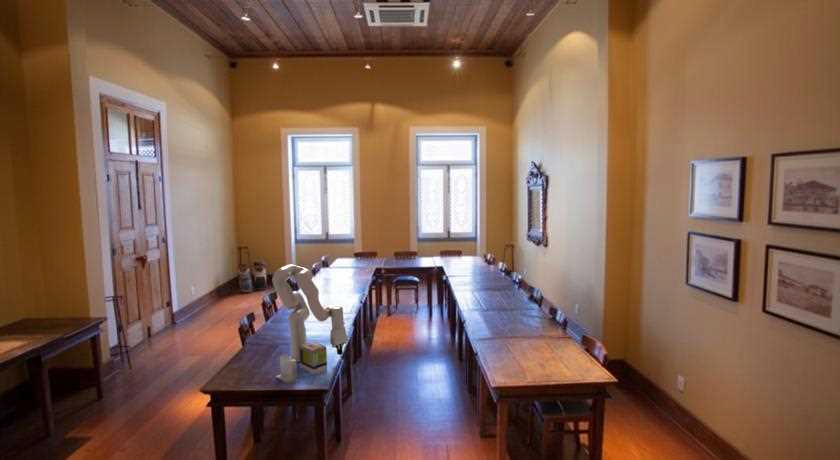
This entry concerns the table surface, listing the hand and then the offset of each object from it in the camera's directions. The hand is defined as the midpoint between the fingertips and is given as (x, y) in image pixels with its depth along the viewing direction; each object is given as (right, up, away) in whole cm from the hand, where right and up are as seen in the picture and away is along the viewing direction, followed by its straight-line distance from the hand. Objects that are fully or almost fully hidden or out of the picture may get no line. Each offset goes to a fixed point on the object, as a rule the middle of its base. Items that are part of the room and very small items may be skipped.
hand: (339, 354), depth 289 cm
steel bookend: (-26, -7, -27) cm, 38 cm away
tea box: (-13, -6, -14) cm, 20 cm away
